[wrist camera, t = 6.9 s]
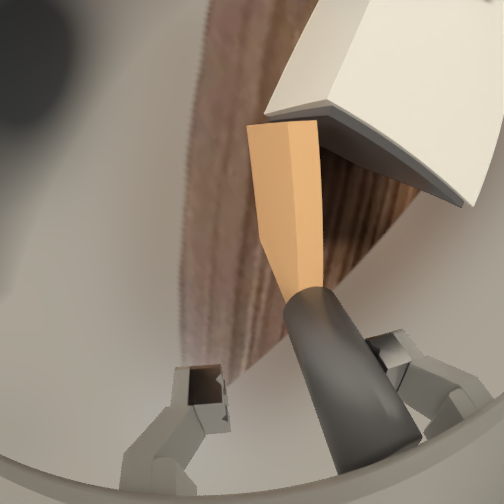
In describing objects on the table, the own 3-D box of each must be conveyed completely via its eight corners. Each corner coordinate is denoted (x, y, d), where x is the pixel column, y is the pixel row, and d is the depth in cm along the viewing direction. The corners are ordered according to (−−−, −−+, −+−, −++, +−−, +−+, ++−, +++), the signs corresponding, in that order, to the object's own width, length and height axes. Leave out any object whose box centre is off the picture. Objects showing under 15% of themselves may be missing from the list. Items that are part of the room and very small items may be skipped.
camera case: (334, -28, 13) (417, -98, 2) (424, 33, 16) (530, 16, 5) (261, 119, 19) (331, 108, 7) (370, 173, 22) (489, 227, 10)
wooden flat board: (270, 123, 19) (526, 141, 2) (280, 235, 23) (404, 460, 6) (236, 126, 19) (408, 120, 2) (250, 240, 22) (332, 488, 6)
